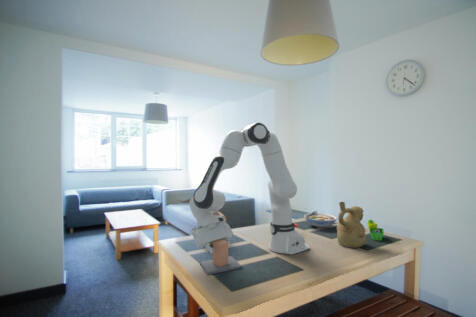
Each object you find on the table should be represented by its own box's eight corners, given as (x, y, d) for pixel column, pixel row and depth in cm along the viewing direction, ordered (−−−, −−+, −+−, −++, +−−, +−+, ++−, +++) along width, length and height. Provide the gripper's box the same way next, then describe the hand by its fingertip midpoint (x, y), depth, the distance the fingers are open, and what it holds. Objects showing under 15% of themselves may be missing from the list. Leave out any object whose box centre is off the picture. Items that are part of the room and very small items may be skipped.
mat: (231, 258, 122) (231, 256, 122) (241, 268, 112) (241, 265, 112) (199, 263, 116) (199, 261, 116) (207, 274, 105) (207, 272, 105)
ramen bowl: (332, 233, 163) (332, 221, 163) (299, 228, 176) (299, 216, 176) (340, 225, 184) (340, 214, 184) (309, 220, 197) (309, 210, 197)
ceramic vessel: (374, 245, 141) (374, 201, 141) (352, 252, 131) (352, 204, 131) (347, 237, 155) (347, 197, 155) (326, 242, 145) (326, 200, 145)
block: (221, 260, 117) (221, 239, 117) (228, 263, 114) (228, 241, 114) (212, 263, 114) (212, 241, 114) (219, 267, 110) (219, 244, 110)
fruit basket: (384, 241, 147) (384, 222, 147) (367, 239, 152) (367, 221, 152) (383, 236, 157) (383, 218, 157) (367, 234, 162) (367, 217, 162)
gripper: (192, 224, 112) (205, 252, 104) (226, 217, 126) (240, 241, 119) (187, 232, 115) (199, 260, 108) (221, 224, 129) (234, 248, 122)
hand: (221, 250), depth 113 cm, fingers open, 8 cm apart
